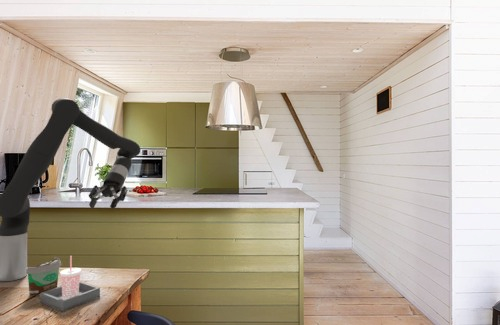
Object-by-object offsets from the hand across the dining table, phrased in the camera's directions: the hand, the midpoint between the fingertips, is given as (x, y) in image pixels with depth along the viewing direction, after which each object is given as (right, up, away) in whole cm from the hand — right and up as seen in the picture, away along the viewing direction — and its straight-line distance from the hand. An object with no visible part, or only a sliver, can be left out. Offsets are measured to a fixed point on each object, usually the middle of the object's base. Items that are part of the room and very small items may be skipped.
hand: (101, 207), depth 125 cm
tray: (-1, -28, -20) cm, 34 cm away
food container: (-12, -28, -13) cm, 33 cm away
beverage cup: (-1, -27, -20) cm, 34 cm away
